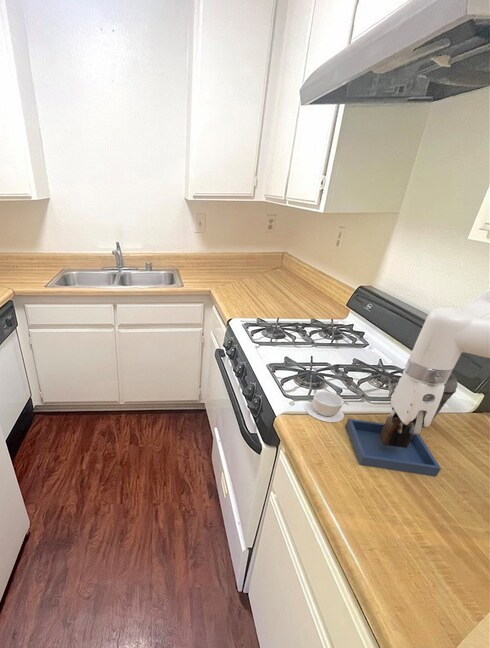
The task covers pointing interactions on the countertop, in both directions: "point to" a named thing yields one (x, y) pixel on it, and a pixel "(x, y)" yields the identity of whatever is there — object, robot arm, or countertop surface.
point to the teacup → (326, 406)
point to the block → (391, 430)
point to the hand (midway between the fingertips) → (393, 439)
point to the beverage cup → (447, 392)
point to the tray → (389, 450)
